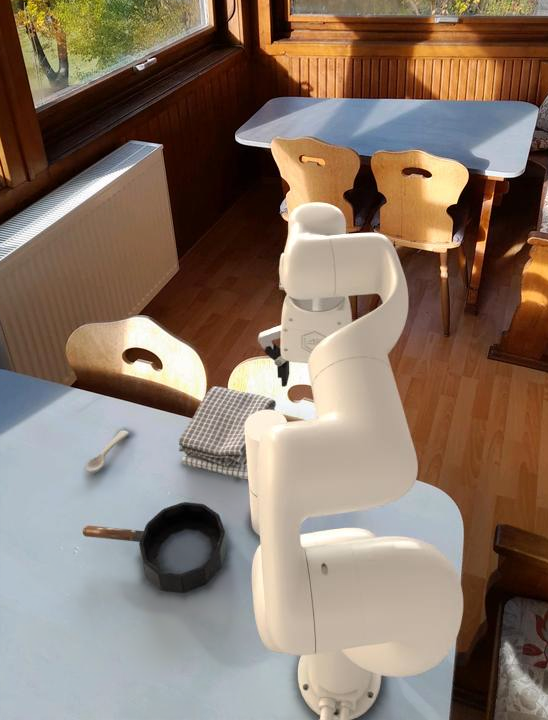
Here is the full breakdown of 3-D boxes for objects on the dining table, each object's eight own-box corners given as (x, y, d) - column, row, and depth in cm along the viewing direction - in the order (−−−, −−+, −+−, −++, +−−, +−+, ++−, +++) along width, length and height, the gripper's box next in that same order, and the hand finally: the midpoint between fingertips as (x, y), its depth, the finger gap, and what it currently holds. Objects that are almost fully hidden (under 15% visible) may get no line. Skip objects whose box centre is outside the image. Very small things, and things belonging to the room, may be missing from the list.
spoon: (83, 473, 132) (82, 465, 131) (120, 433, 142) (119, 426, 141) (95, 477, 131) (94, 470, 130) (132, 437, 141) (131, 430, 140)
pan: (214, 596, 111) (212, 580, 109) (69, 580, 113) (64, 564, 111) (233, 522, 123) (231, 506, 121) (102, 509, 125) (98, 493, 123)
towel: (278, 418, 145) (277, 391, 141) (246, 484, 130) (244, 457, 126) (215, 403, 149) (212, 377, 145) (176, 466, 134) (172, 439, 130)
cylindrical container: (284, 541, 120) (281, 445, 107) (246, 534, 121) (238, 437, 108) (294, 508, 126) (292, 413, 113) (258, 501, 127) (251, 406, 114)
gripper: (249, 301, 89) (255, 395, 98) (378, 310, 87) (373, 405, 96) (260, 271, 95) (265, 361, 104) (380, 278, 94) (375, 370, 103)
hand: (317, 382), depth 100 cm, fingers open, 9 cm apart
